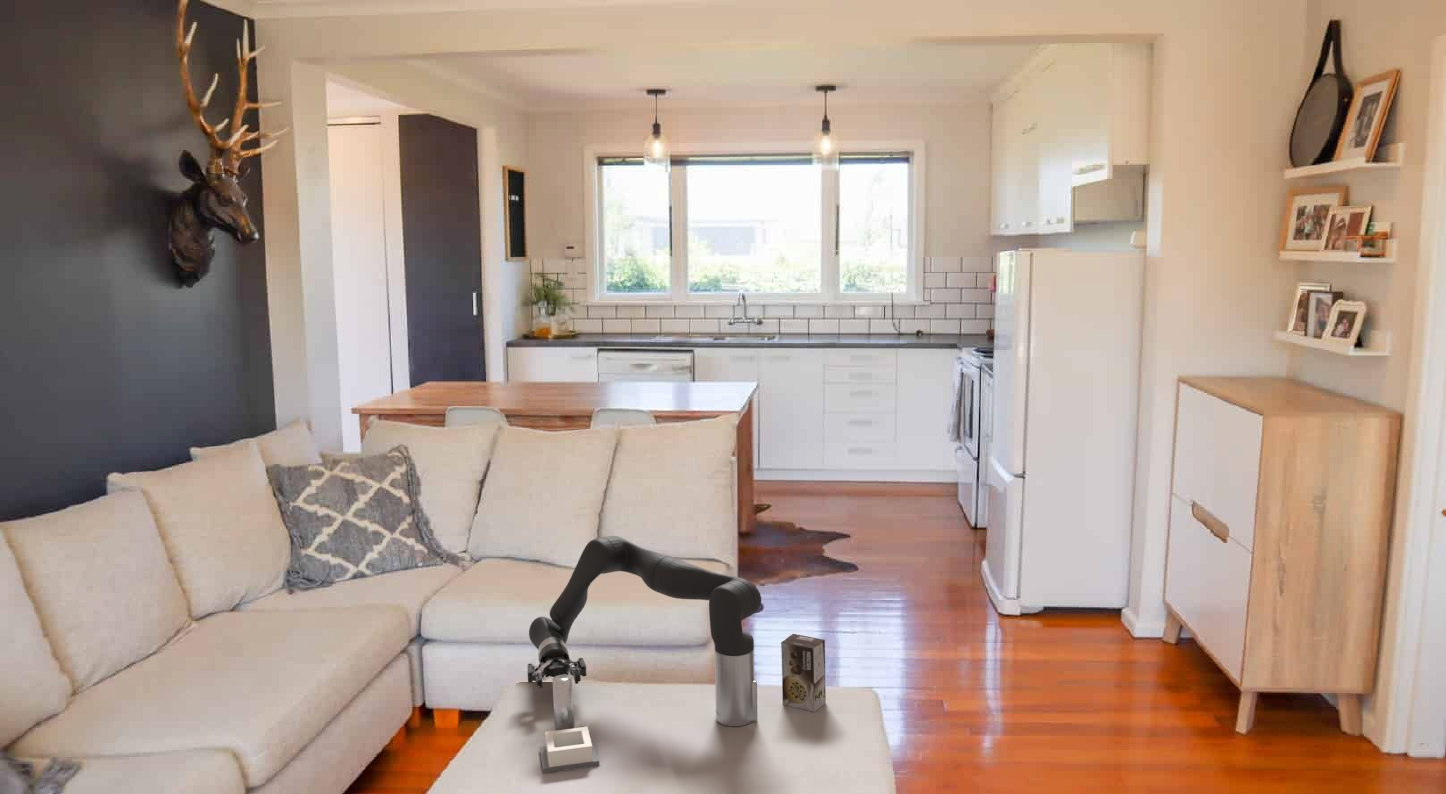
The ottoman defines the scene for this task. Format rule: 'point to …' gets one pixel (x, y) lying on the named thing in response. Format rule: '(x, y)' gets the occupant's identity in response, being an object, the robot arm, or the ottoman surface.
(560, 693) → the silver metal cylinder
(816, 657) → the cookie box
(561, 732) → the dock
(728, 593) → the robot arm
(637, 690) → the ottoman surface
